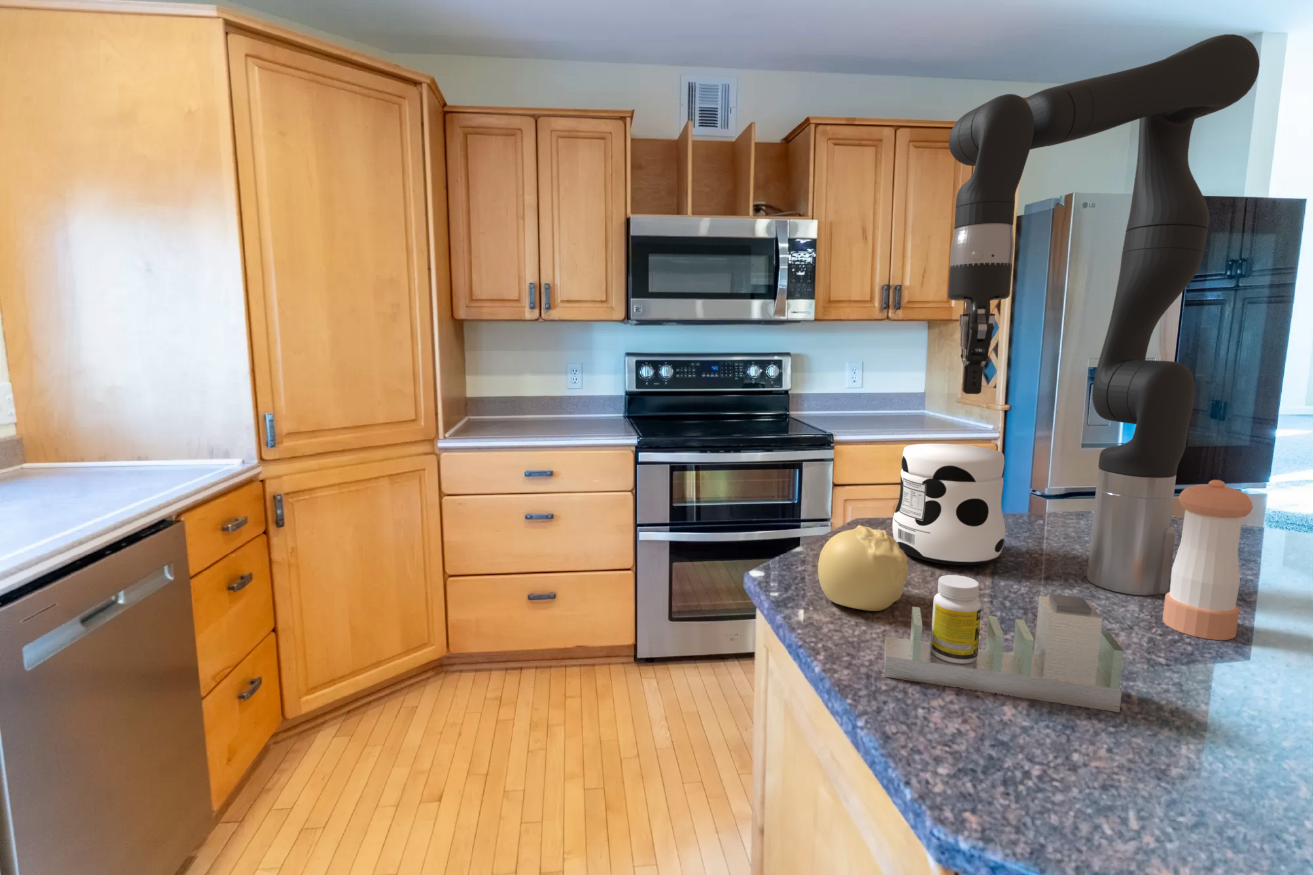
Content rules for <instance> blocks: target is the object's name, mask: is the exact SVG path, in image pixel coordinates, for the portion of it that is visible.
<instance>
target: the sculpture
mask: <svg viewBox="0 0 1313 875" xmlns="http://www.w3.org/2000/svg"><path fill="white" fill-rule="evenodd" d="M907 562H908V556H907V554H905V552H904V551H903V550H902V549H900V548H899V544H898V543H897V542H896V540H895V539H894V537H892V536H890V535H888V531H887V530H884V529H883V530H882V529H874V528H872V527H868V526H865V525H864V526H863V525H862V524H861V525H860V524H858V525H857V526H856V527H855V528H853V529H848V530H843V531H841V532H838V533H837V534H835V535H833V536H832V537H831V538H829V539H828V540H827V541H826V543H825V544H824V546H823V548H822V549H821V551H820V554H819V558H818V564H817V574H818V581H819V584H820V587H821V589H822V591H823V593H824V595H825V596H826V598H827V599H828V600H830V601H831V602H833V603H835V604H837V605H840V606H842V607H843V606H844V607H846V608H847V607H848V608H852V609H857V610H863V611H870V612H880V611H883V610H886V609H888V608H889V607H890V606H891V605H892V604H894V602H896V601H898V600H900V598H901V596H902V595H903V591H904V586H905V585H906V584H907V579H908V574H909V569H910V568H909V564H908V563H907Z"/></svg>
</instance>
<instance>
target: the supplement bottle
mask: <svg viewBox="0 0 1313 875" xmlns="http://www.w3.org/2000/svg"><path fill="white" fill-rule="evenodd" d="M937 581H938V582H937V584H938V585H937V593H936V594H935V595H934V596H933V601H932V602H933V604H932V605H933V606H932V616H931V617H932V618H931V629H930V630H931V631H930V634H931V635H930V642H931V644H930V649H931V651H932V653H933V654H934V655H935V656H936V657H938V658H940V659H942V660H944V661H947V662H951V663H959V664H966V663H972V662H974V661H975V660H976V659H977V656H978V649H979V640H980V629H981V628H980V627H981V615H982V614H981V613H982V604H981V601H980V600H979V599H978V598H979V595H980V584H979V582H978V581H977V580H976V579H973V578H972V577H968V576H964V575H958V574H947V575H942V576H939V578H938V580H937Z"/></svg>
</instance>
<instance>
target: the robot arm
mask: <svg viewBox="0 0 1313 875" xmlns="http://www.w3.org/2000/svg"><path fill="white" fill-rule="evenodd" d="M1259 72H1260V56H1259V53H1258V50H1257V48H1256V46H1255V45H1254V44H1253V42H1251V41H1250V39H1248V38H1247V37H1244V36H1242V35H1238V34H1235V33H1234V34H1233V33H1232V34H1231V33H1230V34H1228V33H1227V34H1219V35H1216V36H1212V37H1209V38H1207V39H1205V40H1204V39H1203V40H1201V41H1200V42H1197V43H1194V44H1193V45H1190V46H1187V48H1184V49H1182V50H1180V51H1178V52H1176V53H1173V54H1171V55H1170V56H1167V57H1166V58H1163V59H1161V60H1158V61H1155V62H1150V63H1148V64H1145V65H1141V66H1137V67H1133V68H1130V69H1127V70H1126V69H1125V70H1121V71H1116V72H1112V73H1109V74H1108V73H1107V74H1104V75H1101V76H1096V77H1095V76H1094V77H1090V78H1087V79H1083V80H1077V81H1073V82H1069V83H1064V84H1060V85H1057V86H1052V87H1048V88H1045V89H1043V90H1040V91H1037V92H1034V93H1033V94H1031V95H1029V96H1027V97H1026V98H1023V97H1022V96H1020V95H1017V94H1014V93H1006V94H1003V95H999V96H996V97H994V98H993V99H990V100H988V101H987V102H985V103H983V104H981V105H980V106H977V107H976V108H974V109H972V110H969V111H968V112H966V113H965V114H963V115H962V116H961V117H960V118H959V119H957V121H956V122H955V123H954V125H953V126H952V128H951V131H950V133H949V137H948V148H949V152H950V154H951V156H952V157H953V158H954V159H955V160H956V161H958V163H960V164H962V165H965V166H971V167H974V169H973V173H972V175H971V176H970V177H969V179H968V180H967V181H966V182H964V184H962V185H961V186H960V188H959V189H958V192H957V195H956V199H955V214H954V215H955V216H954V227H953V228H954V230H953V236H952V241H951V244H950V256H949V271H948V286H947V287H948V288H947V289H948V290H947V298H948V299H949V300H950V301H958V302H959V301H962V302H963V301H964V302H965V309H964V311H965V312H964V313H961V314H959V319H958V326H959V328H960V329H959V331H960V336H959V347H960V350H961V351H960V352H961V354H960V359H961V363H962V366H963V374H962V388H961V391H962V393H964V394H966V395H979V394H981V392H982V386H983V385H982V384H983V383H982V382H983V372H984V366H986V365H985V364H986V363H987V362H988V360H989V352H990V348H991V345H992V337H993V333H994V330H995V323H996V313H991V301H997V300H999V301H1000V300H1006V299H1008V298H1009V297H1010V295H1011V286H1012V277H1013V276H1012V274H1013V273H1012V272H1013V260H1014V251H1015V250H1014V249H1015V248H1014V247H1015V238H1014V223H1015V222H1014V220H1015V208H1016V207H1015V206H1016V193H1017V189H1018V186H1019V184H1020V181H1021V178H1022V176H1023V173H1024V170H1025V167H1026V164H1027V160H1028V157H1029V154H1030V150H1034V149H1039V148H1045V147H1052V146H1056V145H1060V144H1064V143H1067V142H1068V143H1069V142H1071V141H1075V140H1080V139H1083V138H1087V137H1089V136H1093V135H1096V134H1099V133H1102V132H1105V131H1107V130H1110V129H1113V128H1116V127H1119V126H1122V125H1124V124H1128V123H1131V122H1133V121H1136V120H1139V125H1138V127H1139V128H1138V129H1139V130H1138V142H1137V143H1138V144H1137V147H1138V148H1137V160H1136V169H1135V175H1134V176H1135V177H1134V184H1133V189H1132V197H1131V204H1130V210H1129V216H1128V221H1127V224H1126V229H1125V235H1124V240H1123V241H1124V242H1123V246H1122V253H1121V259H1120V260H1121V261H1120V268H1119V276H1118V280H1117V287H1116V292H1115V296H1114V300H1113V306H1112V309H1111V310H1112V311H1111V317H1110V320H1109V324H1108V328H1107V331H1106V336H1105V337H1104V342H1103V346H1102V348H1101V351H1100V352H1101V353H1100V356H1099V359H1098V363H1097V367H1096V370H1095V374H1094V378H1093V384H1092V395H1091V397H1092V398H1091V399H1092V405H1093V407H1094V410H1095V412H1096V413H1097V415H1098V416H1099V417H1100V418H1102V419H1104V420H1106V421H1112V422H1116V423H1124V424H1130V425H1131V424H1132V425H1135V429H1134V433H1133V435H1132V438H1131V439H1130V440H1128V441H1127V442H1125V443H1121V445H1115V446H1114V445H1113V446H1109V447H1106V448H1103V449H1101V451H1100V453H1099V458H1098V468H1097V475H1096V476H1097V477H1096V488H1095V496H1094V506H1093V516H1092V524H1091V526H1092V527H1091V534H1090V544H1089V554H1088V555H1089V556H1088V562H1087V574H1086V575H1087V576H1086V578H1087V581H1089V582H1090V583H1092V584H1094V585H1096V586H1098V587H1100V588H1103V589H1106V590H1109V591H1112V592H1118V593H1122V594H1128V595H1134V596H1136V595H1137V596H1155V595H1166V594H1167V593H1168V592H1170V584H1171V572H1172V567H1173V560H1174V557H1173V556H1174V549H1175V542H1176V541H1175V540H1176V529H1174V528H1173V527H1171V521H1172V514H1173V506H1174V497H1175V488H1176V481H1177V480H1176V479H1177V471H1178V466H1179V464H1180V462H1181V459H1182V458H1183V455H1184V453H1185V450H1186V446H1187V439H1188V433H1189V429H1190V422H1191V418H1192V414H1193V409H1194V403H1195V394H1196V393H1195V392H1196V389H1195V388H1196V387H1195V380H1194V376H1193V374H1192V371H1191V370H1190V369H1189V367H1188V366H1187V365H1185V364H1184V363H1181V362H1178V361H1174V360H1173V361H1171V360H1170V361H1169V360H1153V359H1152V360H1150V359H1146V358H1147V353H1148V348H1149V345H1150V341H1151V338H1152V335H1153V332H1154V331H1155V330H1154V329H1155V328H1156V326H1157V324H1158V323H1159V321H1160V320H1161V318H1162V317H1163V315H1164V314H1165V313H1166V311H1167V310H1168V309H1169V308H1170V307H1171V306H1172V304H1173V303H1174V302H1175V301H1176V300H1177V299H1178V297H1179V296H1181V294H1182V293H1183V291H1184V290H1185V289H1186V288H1187V287H1188V285H1189V284H1190V283H1191V282H1192V280H1193V279H1194V277H1195V276H1196V274H1197V273H1198V271H1199V269H1200V266H1201V264H1202V261H1203V259H1204V258H1203V257H1204V253H1205V247H1206V243H1207V237H1208V233H1209V232H1208V230H1209V225H1210V210H1209V209H1208V204H1207V202H1206V199H1205V197H1204V195H1203V193H1202V191H1201V189H1200V187H1199V185H1198V183H1197V181H1196V179H1195V178H1194V175H1193V174H1192V172H1191V168H1190V163H1189V150H1190V140H1191V135H1192V131H1193V126H1194V123H1195V121H1196V119H1198V118H1203V117H1205V116H1208V115H1211V114H1213V113H1216V112H1219V111H1222V110H1224V109H1226V108H1228V107H1230V106H1232V105H1234V104H1235V103H1237V102H1239V101H1240V100H1241V99H1242V98H1243V97H1245V96H1246V95H1247V94H1248V93H1249V91H1251V89H1253V86H1254V85H1255V83H1256V80H1257V78H1258V75H1259ZM975 349H976V351H975Z"/></svg>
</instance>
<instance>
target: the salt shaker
mask: <svg viewBox="0 0 1313 875" xmlns="http://www.w3.org/2000/svg"><path fill="white" fill-rule="evenodd" d="M1178 502H1179V505H1180V507H1181V508H1182V509H1183V510H1185V511H1184V515H1183V524H1182V531H1181V540H1180V543H1179V546H1178V550H1177V552H1176V556H1175V559H1174V561H1173V563H1172V567H1171V575H1170V583H1169V591H1168V593H1167V594H1164V595H1165V596H1164V604H1163V611H1162V612H1163V614H1162V622H1163V624H1164V625H1166V626H1167V627H1169V628H1171V629H1172V630H1175V631H1177V632H1179V633H1181V634H1186V635H1189V636H1193V637H1195V638H1196V637H1197V638H1201V639H1206V640H1217V641H1227V640H1232V639H1234V638H1235V637H1236V635H1237V631H1238V630H1237V629H1238V624H1239V623H1238V622H1239V618H1240V617H1239V616H1240V610H1239V607H1238V605H1237V600H1238V595H1239V588H1240V583H1241V580H1240V579H1241V578H1240V564H1239V561H1240V560H1239V545H1240V537H1241V530H1242V529H1241V528H1242V523H1243V522H1242V520H1243V518H1245V517H1247V516H1249V514H1250V513H1251V512H1252V510H1253V508H1254V507H1253V502H1252V500H1251V499H1250V497H1249V495H1248V494H1247V493H1245V492H1243V491H1242V490H1239V489H1236V488H1234V487H1230V486H1226V483H1225V481H1222V480H1220V479H1211V480H1210V481H1209V482H1208V484H1205V483H1203V484H1194V485H1190V486H1188V487H1185V488H1184V489H1183V490H1182V491H1181V492H1180V494H1179V496H1178Z"/></svg>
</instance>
